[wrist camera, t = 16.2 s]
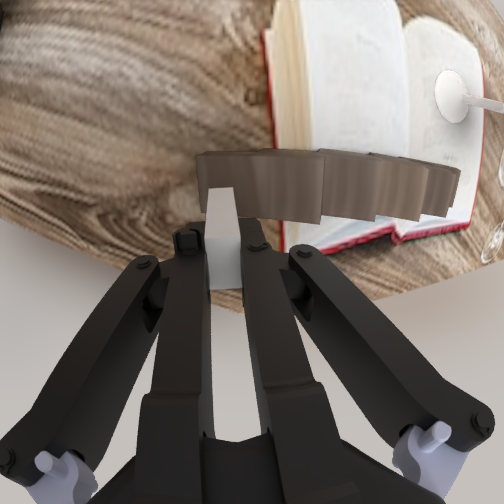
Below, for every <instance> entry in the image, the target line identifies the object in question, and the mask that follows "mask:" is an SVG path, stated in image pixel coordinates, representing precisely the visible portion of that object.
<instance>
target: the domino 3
mask: <svg viewBox="0 0 504 504" xmlns="http://www.w3.org/2000/svg"><path fill="white" fill-rule="evenodd" d="M319 152H328V153H337V154H346V155H355V156H362V157H369V158H376V159H379V160H380V161H381V162H382V173H381V181H380V189H379V196H378V203H377V210H376V215H382V216H389V217H394V218H400V219H406V220H411V221H417V222H419V219H420V214H421V210H422V205H423V200H424V195H425V190H426V185H427V179H428V173H429V169H427V168H426V167H425V166H424V165H421V164H416V163H412V162H407V161H402V160H397V159H391V158H386V157H380V156H374V155H367V154H361V153H354V152H346V151H338V150H330V149H320V150H319Z"/></svg>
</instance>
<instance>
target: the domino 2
mask: <svg viewBox="0 0 504 504" xmlns="http://www.w3.org/2000/svg"><path fill="white" fill-rule="evenodd" d="M259 152H275V153H293V154H307V155H318V156H325V170H324V186H323V200H322V212H321V215H326V216H334V217H342V218H350V219H357V220H365V221H372V222H375V216H376V210H377V203H378V196H379V189H380V181H381V173H382V162H381V161H380V160H379V159H376V158H369V157H362V156H355V155H346V154H337V153H328V152H317V151H304V150H289V149H267V148H264V149H262V150H260V151H259Z"/></svg>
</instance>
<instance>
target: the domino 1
mask: <svg viewBox="0 0 504 504" xmlns="http://www.w3.org/2000/svg"><path fill="white" fill-rule="evenodd" d="M196 165H197V176H198V187H199V197H200V207H201V213H207V203H208V193H209V189H213V188H230V187H233V193H234V199H235V205H236V211H237V216H245V217H255V218H265V219H275V220H284V221H293V222H302V223H311V224H319V225H320V219H321V212H322V200H323V186H324V170H325V156H318V155H307V154H293V153H275V152H243V151H209V152H204V153H202V154H199V155H197V156H196Z"/></svg>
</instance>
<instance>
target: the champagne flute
mask: <svg viewBox="0 0 504 504" xmlns="http://www.w3.org/2000/svg"><path fill="white" fill-rule="evenodd" d="M435 99H436V103H437V106H438V109H439V111H440V113H441V114H442V116H443V117H444V118H445V119H446V120H447V121H449V122H451V123H459V122H461V121H462V120H463V119H464V118H465V117H466V115H467V112H468V108H469V105H473V106H477V107H481V108H485V109H489V110H492V111H496V112H499V113H503V114H504V103H503V102H499V101H495V100H491V99H487V98H482V97H477V96H472V95H468V91H467V88H466V85H465V83H464V81H463V80H462V78H461V77H460V76H459V75H458V74H457V73H455V72H453V71H451V70H445V71H443V72H441V73H440V74H439V76H438V77H437V80H436V83H435Z"/></svg>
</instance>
